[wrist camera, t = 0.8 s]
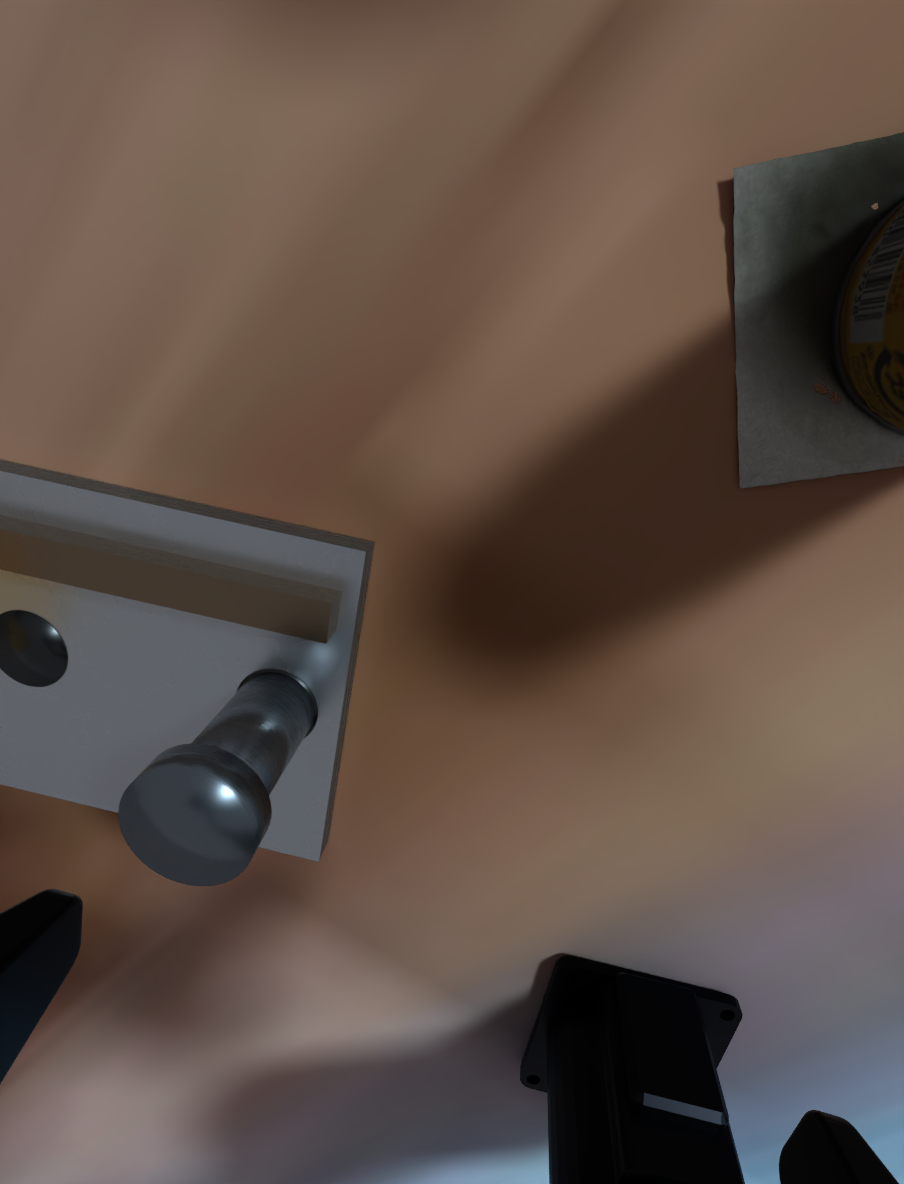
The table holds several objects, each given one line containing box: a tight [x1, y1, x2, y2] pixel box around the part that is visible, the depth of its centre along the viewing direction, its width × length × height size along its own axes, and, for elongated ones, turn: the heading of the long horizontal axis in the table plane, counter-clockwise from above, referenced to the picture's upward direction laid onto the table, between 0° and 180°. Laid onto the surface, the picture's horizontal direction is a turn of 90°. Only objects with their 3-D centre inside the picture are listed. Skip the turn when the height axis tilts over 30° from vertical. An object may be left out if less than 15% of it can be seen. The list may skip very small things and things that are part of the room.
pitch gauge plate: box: [0, 460, 374, 886], centre depth 18 cm, size 11×16×6 cm
